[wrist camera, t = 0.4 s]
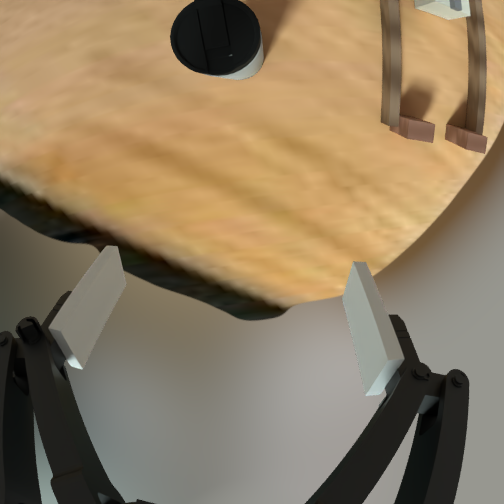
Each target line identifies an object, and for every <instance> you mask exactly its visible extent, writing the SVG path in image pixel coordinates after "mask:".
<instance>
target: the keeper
mask: <svg viewBox="0 0 504 504" xmlns="http://www.w3.org/2000/svg"><path fill="white" fill-rule="evenodd" d="M414 2H415V9H418V10H422V11H425V12H428V13H431V14H434V15H436V16H439V17H442V18H445V19H447V20H450V19H456V18H461V17H467V16H471V15H470V7H469V0H414Z"/></svg>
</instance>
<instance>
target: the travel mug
mask: <svg viewBox="0 0 504 504" xmlns="http://www.w3.org/2000/svg"><path fill="white" fill-rule="evenodd" d="M170 40H171V46H172V49H173V52H174V54H175V55H176V57H177V59H178V60H179V61H180V62H181V63H182V64H183V65H184V66H186V67H187V68H189V69H190V70H193V71H195V72H198V73H202V74H205V75H209V76H215V77H222V78H228V79H235V80H243V79H247V78H250V77H252V76H253V75H255V74H256V73H257V72H258V71H259V70H260V68H261V67H262V64H263V60H264V55H263V44H262V34H261V30H260V26H259V22H258V19H257V17H256V16H255V14H254V12H253V11H252V10H251V9H250V8H249V7H248V6H247V5H246V4H244V3H243V2H241V1H239V0H194V2H192V3H190V4H189V5H188V6H186V7H185V8H184V9H183V10H182V11H181V12H180V13H179V14H178V16H177V17H176V19H175V21H174V23H173V26H172V28H171V35H170Z"/></svg>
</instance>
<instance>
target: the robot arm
mask: <svg viewBox="0 0 504 504" xmlns="http://www.w3.org/2000/svg"><path fill="white" fill-rule="evenodd" d="M125 286H126V280H125V276H124V272H123V268H122V264H121V260H120V255H119V251H118V246H106V247H105V248H104V249H103V251H102V252H101V253H100V255H99V256H98V257H97V259H96V260H95V261H94V263H93V264H92V265H91V266H90V268H89V269H88V271H87V272H86V273H85V275H84V276H83V277H82V279H81V280H80V282H79V283H78V284H77V286H76V287H75V288H74V290H73V291H68V292H66V293H65V294H64V295H62V296H61V297H60V299H59V300H58V302H57V303H56V305H55V306H54V307H53V310H51V312H50V313H49V315H48V316H47V318H46V319H45V321H44V322H43V324H42V325H41V326H40V324H39V322H38V320H37V319H36V318H35V317H31V316H30V317H26V318H24V319H22V320H21V321H20V322H19V323H18V325H17V326H16V332H17V334H18V336H19V337H20V338H14V337H13V336H12V334H11V333H10V332H8V331H4V332H1V333H0V504H42V501H41V494H40V488H39V481H38V473H37V465H36V454H35V441H34V413H35V416H36V421H37V425H38V429H39V432H40V436H41V440H42V443H43V446H44V449H45V453H46V456H47V458H48V461H49V464H50V467H51V470H52V473H53V478H52V479H51V487H52V490H53V492H54V495H55V497H56V499H57V502H58V504H154V503H150V502H146V501H142V500H138V499H137V501H136V502H129V503H125V501H124V499H123V498H122V496H121V495H120V494H119V492H118V491H117V490H116V489H115V488H114V486H113V485H112V483H111V482H110V480H109V478H108V476H107V474H106V472H105V470H104V468H103V466H102V464H101V462H100V460H99V458H98V456H97V453H96V451H95V449H94V447H93V444H92V442H91V440H90V437H89V435H88V433H87V430H86V427H85V425H84V422H83V420H82V417H81V414H80V412H79V409H78V406H77V403H76V400H75V397H74V394H73V391H72V388H71V384H70V381H69V378H68V374H67V371H66V368H65V366H64V362H65V360H66V359H67V361H68V363H69V364H70V365H71V366H72V367H76V368H79V369H83V368H84V366H85V364H86V362H87V359H88V357H89V355H90V353H91V351H92V349H93V347H94V345H95V343H96V341H97V339H98V337H99V335H100V333H101V331H102V329H103V327H104V325H105V323H106V321H107V319H108V318H109V316H110V313H111V312H112V310H113V308H114V306H115V304H116V302H117V300H118V299H119V297H120V295H121V293H122V292H123V290H124V288H125ZM342 301H343V305H344V309H345V312H346V316H347V320H348V324H349V328H350V332H351V336H352V340H353V344H354V348H355V352H356V356H357V360H358V365H359V370H360V374H361V379H362V383H363V388H364V393H365V396H370V395H380V394H381V393H382V391H383V390H384V389H385V390H386V393H387V395H386V397H385V398H384V399H383V401H382V402H381V403H380V404H379V408H378V409H377V411H376V413H375V414H374V416H373V417H372V419H371V420H370V422H369V423H368V425H367V426H366V428H365V429H364V431H363V432H362V434H361V435H360V437H359V438H358V440H357V441H356V442H355V444H354V445H353V446H352V448H351V449H350V450H349V452H348V453H347V454H346V456H345V457H344V458H343V460H342V461H341V462H340V463H339V465H338V466H337V467H336V468H335V470H334V471H333V472H332V473H331V475H330V476H329V477H328V478H327V479H326V481H325V482H324V483H323V484H322V485H321V486H320V488H319V489H318V490H317V491H316V492H315V493H314V494H313V495H312V496H311V498H310V499H309V500H308V501H307V502H306V503H305V504H362V503H363V502H364V500H365V499H366V498H367V496H368V494H369V493H370V492H371V491H372V489H373V488H374V486H375V485H376V483H377V482H378V480H379V479H380V477H381V476H382V474H383V473H384V471H385V470H386V468H387V466H388V465H389V463H390V462H391V460H392V458H393V457H394V455H395V453H396V451H397V450H398V448H399V446H400V444H401V443H402V441H403V439H404V437H405V435H406V433H407V432H408V430H409V428H410V426H411V424H412V422H413V420H414V418H415V416H416V414H417V413H419V417H418V421H417V426H416V431H415V435H414V439H413V444H412V448H411V452H410V455H409V459H408V462H407V466H406V469H405V473H404V476H403V479H402V482H401V485H400V489H399V491H398V494H397V497H396V500H395V503H394V504H454V500H455V496H456V491H457V487H458V482H459V478H460V472H461V467H462V461H463V454H464V448H465V440H466V431H467V420H468V404H469V380H468V378H467V376H466V374H465V373H463V372H462V371H460V370H458V369H453V370H451V371H449V373H448V374H447V375H441V374H436V373H432V372H431V370H430V369H429V367H428V366H427V365H425V364H424V363H421V362H420V361H419V358H418V356H417V353H416V350H415V348H414V345H413V343H412V340H411V338H410V336H409V333H408V332H407V328H406V326H405V323H404V321H403V320H402V319H401V318H400V317H399V316H398V315H388V313H387V311H386V308H385V306H384V303H383V300H382V298H381V296H380V293H379V291H378V289H377V286H376V284H375V282H374V279H373V277H372V275H371V272H370V270H369V268H368V266H367V263H366V262H354V261H353V264H352V268H351V271H350V275H349V278H348V281H347V285H346V288H345V292H344V295H343V298H342Z"/></svg>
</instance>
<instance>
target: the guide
mask: <svg viewBox="0 0 504 504" xmlns="http://www.w3.org/2000/svg"><path fill="white" fill-rule="evenodd" d="M469 7H470V15H471V16H467V17H466V20H467V32H468V53H469V81H468V102H467V115H466V126H465V128H462V127H458V126H453V125H449V124H447V125H446V134H445V139H446V140H448V141H450V142H452V143H454V144H456V145H458V146H460V147H462V148H464V149H467V150H471V151H476V152H480V153H484V154H485V151H486V144H487V137H485V136H483V135H482V133H483V125H484V114H485V101H486V72H487V67H486V38H485V26H484V16H483V8H482V1H481V0H469ZM380 8H381V24H382V55H383V75H382V108H381V123H384V124H386V125H388V126H390V131H392V132H395V133H397V134H399V135H401V136H403V137H405V138H407V139H412V140H419V141H425V142H431V143H433V139H434V130H435V124H432V123H430V122H427V121H424V120H421V119H418V118H415V117H410V116H404V115H399V114H400V96H401V32H400V15H399V2H398V0H380Z"/></svg>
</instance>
